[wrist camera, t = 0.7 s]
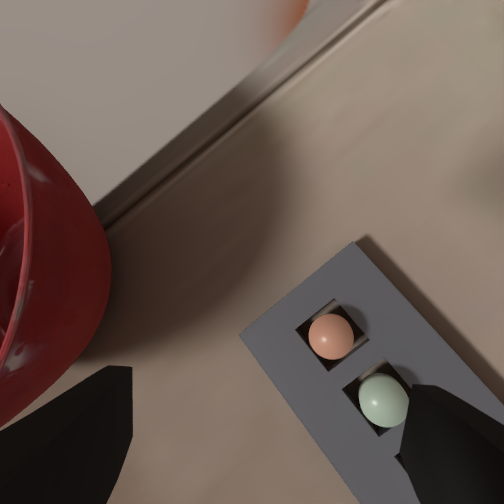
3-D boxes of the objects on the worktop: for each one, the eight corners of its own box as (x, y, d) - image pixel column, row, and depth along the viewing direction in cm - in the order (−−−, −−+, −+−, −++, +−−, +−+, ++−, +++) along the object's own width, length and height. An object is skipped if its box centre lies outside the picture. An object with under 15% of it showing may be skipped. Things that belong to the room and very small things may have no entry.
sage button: (414, 401, 24) (420, 409, 22) (378, 427, 24) (381, 436, 22) (383, 363, 24) (386, 368, 23) (349, 389, 25) (349, 396, 23)
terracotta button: (361, 338, 25) (363, 341, 23) (328, 363, 25) (328, 368, 24) (333, 305, 26) (333, 305, 24) (302, 330, 26) (299, 332, 25)
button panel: (555, 466, 22) (570, 477, 21) (410, 562, 23) (415, 580, 22) (352, 243, 27) (352, 240, 26) (243, 332, 29) (238, 334, 27)
